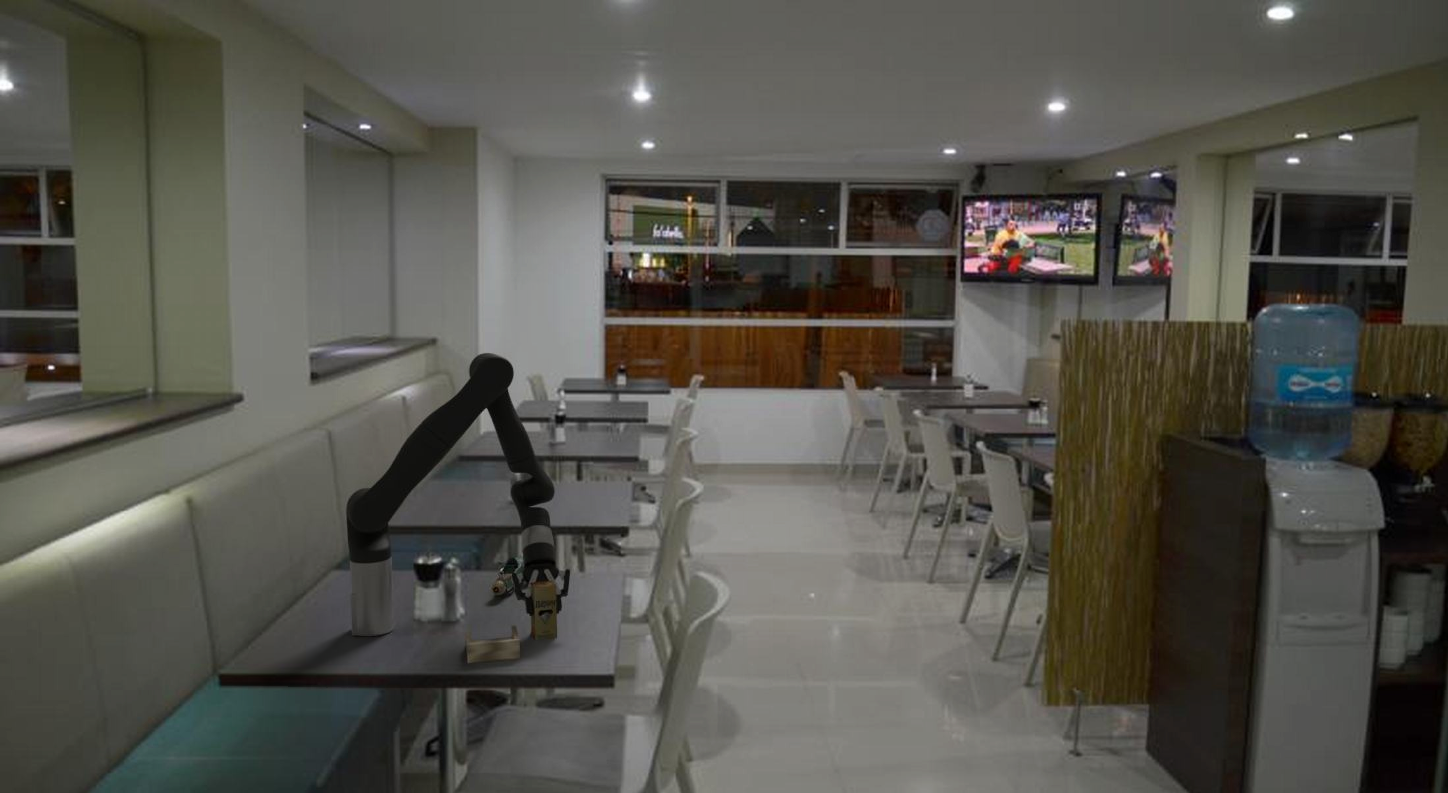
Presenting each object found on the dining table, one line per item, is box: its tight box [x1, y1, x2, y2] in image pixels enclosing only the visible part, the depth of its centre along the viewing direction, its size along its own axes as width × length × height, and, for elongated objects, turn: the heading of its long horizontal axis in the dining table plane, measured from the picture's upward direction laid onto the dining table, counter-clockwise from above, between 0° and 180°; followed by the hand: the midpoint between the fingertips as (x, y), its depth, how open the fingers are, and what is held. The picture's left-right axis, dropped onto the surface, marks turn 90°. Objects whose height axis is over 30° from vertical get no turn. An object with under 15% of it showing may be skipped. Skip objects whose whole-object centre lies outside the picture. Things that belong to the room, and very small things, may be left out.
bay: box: [465, 625, 521, 664], centre depth 233 cm, size 11×11×4 cm
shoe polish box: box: [530, 581, 558, 641], centre depth 243 cm, size 5×5×12 cm
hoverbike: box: [490, 553, 528, 597], centre depth 280 cm, size 10×25×8 cm, turn 173°
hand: (544, 613), depth 242 cm, fingers closed on shoe polish box, 5 cm apart
